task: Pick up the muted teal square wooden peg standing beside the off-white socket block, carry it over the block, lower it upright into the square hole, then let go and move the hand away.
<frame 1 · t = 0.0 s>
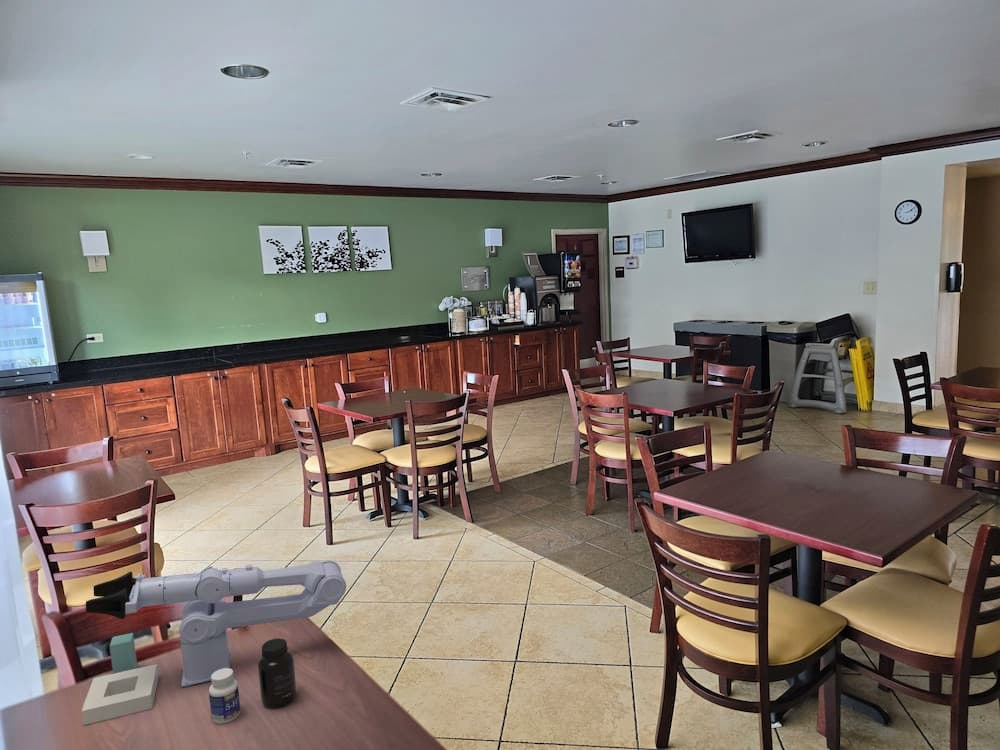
hand: (90, 598, 134), 22 cm above the table, tool horizontal, fingers open, 7 cm apart
pill bottle: (226, 716, 129), on the table
peg: (125, 672, 146), on the table
socket block: (123, 699, 136), on the table
supplement bottle: (279, 700, 134), on the table
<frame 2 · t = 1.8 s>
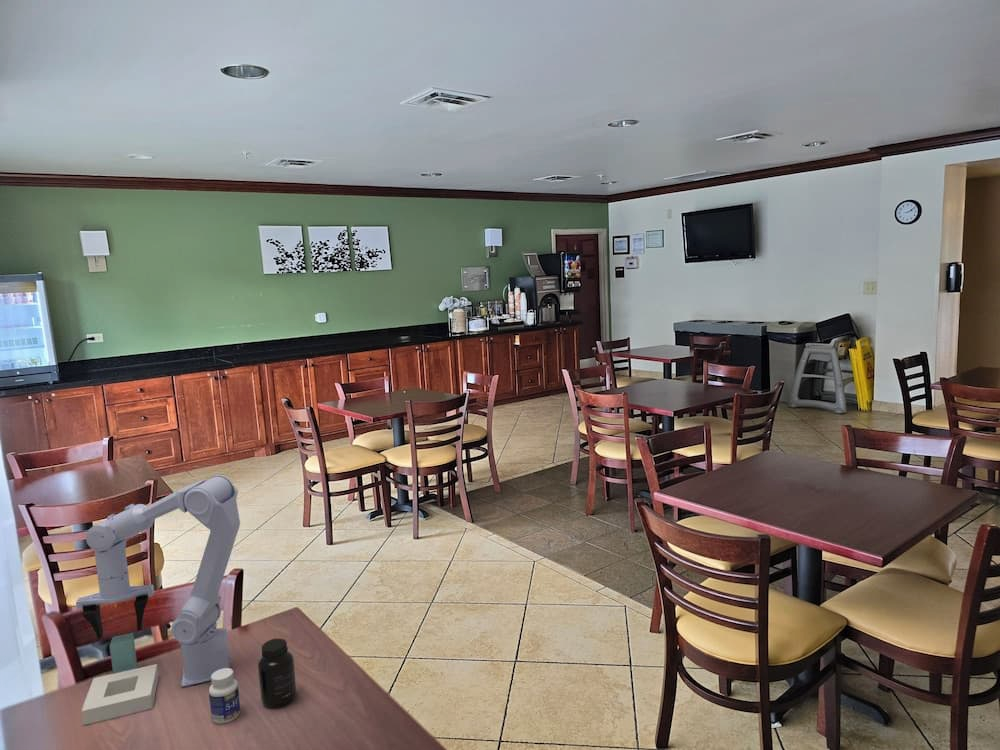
hand: (120, 632, 144), 10 cm above the table, tool pointing down, fingers open, 7 cm apart
nothing on the table moved.
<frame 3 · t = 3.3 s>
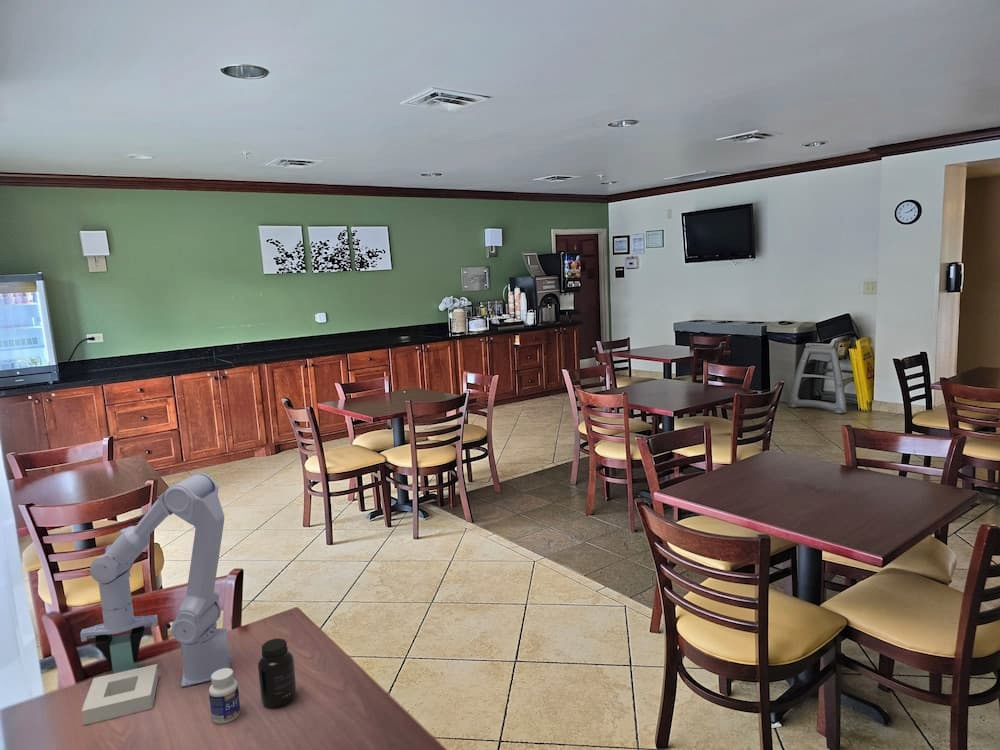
hand: (124, 662, 145), 2 cm above the table, tool pointing down, fingers closed on peg, 4 cm apart
peg: (125, 672, 146), on the table, touching gripper
everything else where it was.
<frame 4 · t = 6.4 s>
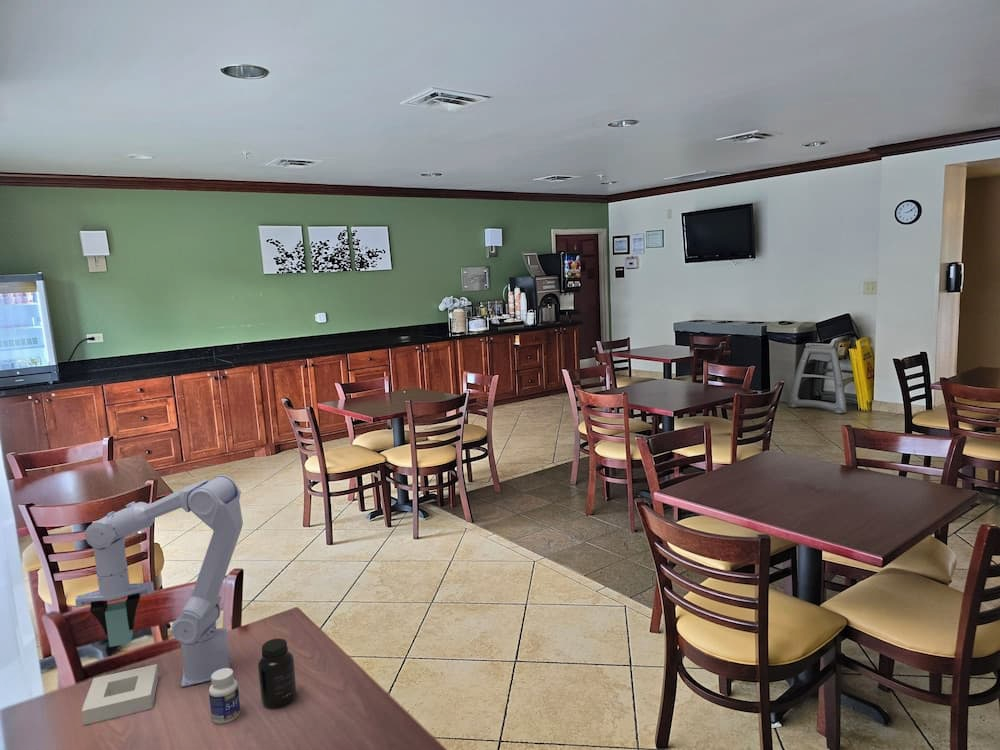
hand: (120, 630, 144), 10 cm above the table, tool pointing down, fingers closed on peg, 4 cm apart
peg: (121, 640, 144), point 8 cm above the table, touching gripper
everything else where it was.
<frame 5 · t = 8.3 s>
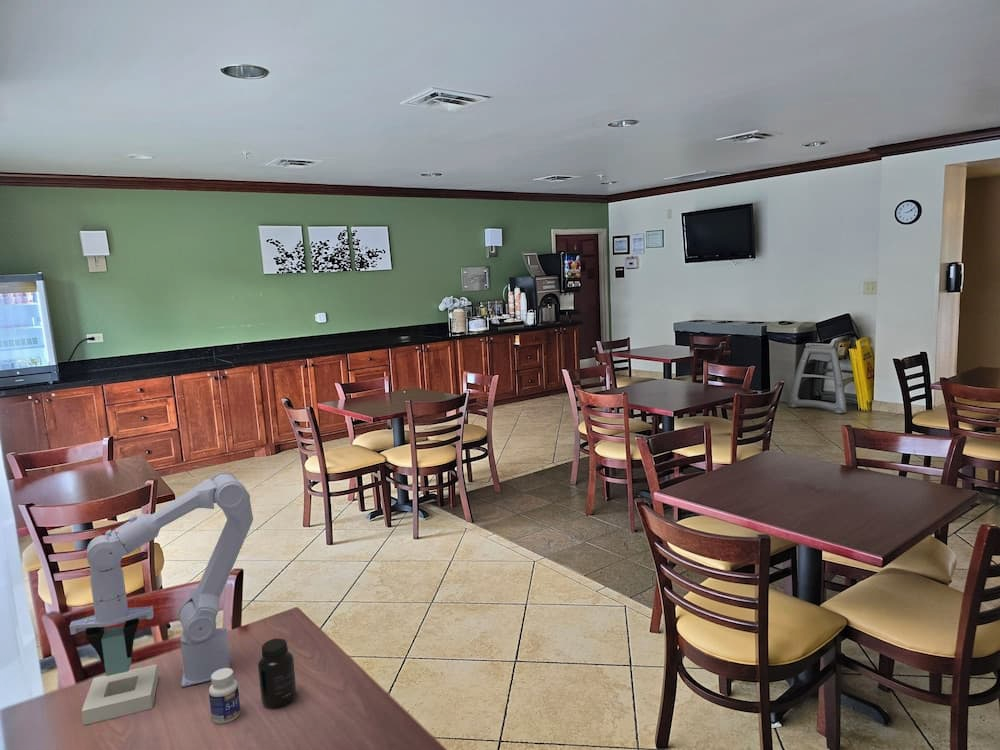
hand: (117, 657, 134), 9 cm above the table, tool pointing down, fingers closed on peg, 4 cm apart
peg: (119, 668, 135), point 7 cm above the table, touching gripper
everything else where it was.
when the fingers open (4 cm above the table, at t = 9.8 s): peg drops 1 cm, resting in socket block.
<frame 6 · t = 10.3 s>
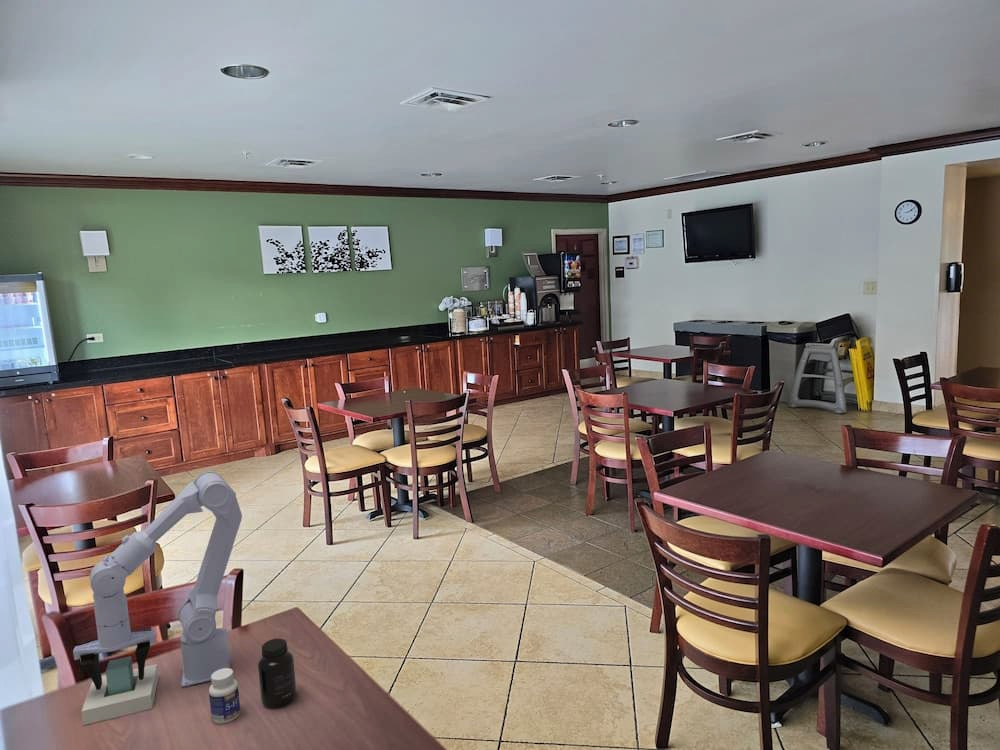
hand: (120, 682, 135), 4 cm above the table, tool pointing down, fingers open, 7 cm apart
peg: (123, 699, 136), resting in socket block
everything else where it was.
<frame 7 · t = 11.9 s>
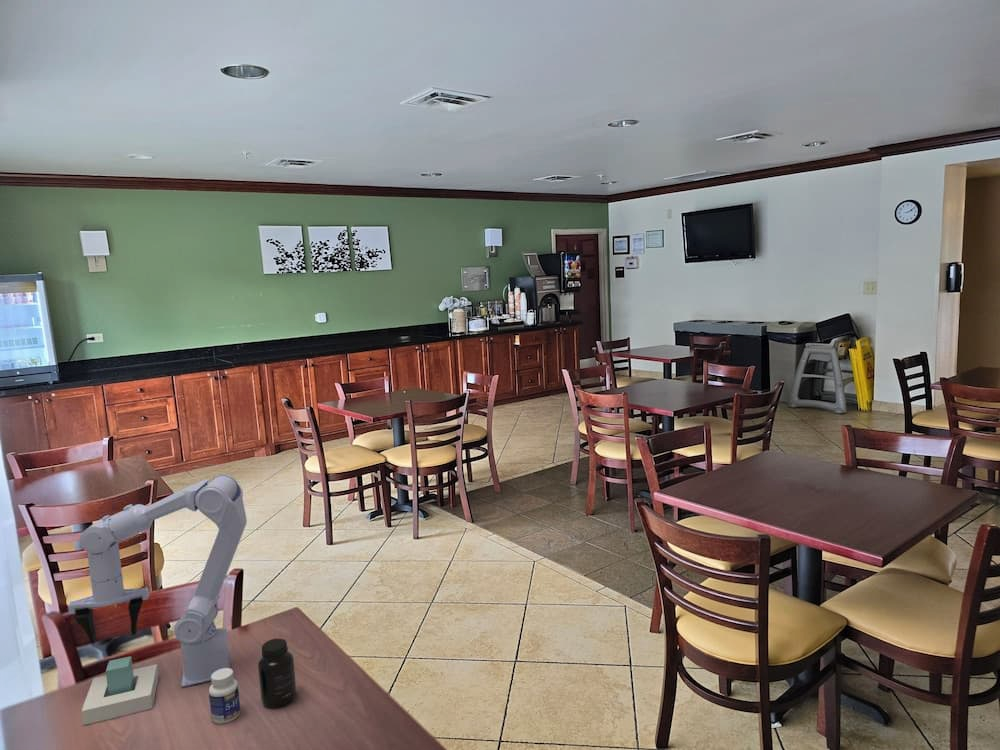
hand: (114, 636, 141), 10 cm above the table, tool pointing down, fingers open, 7 cm apart
nothing on the table moved.
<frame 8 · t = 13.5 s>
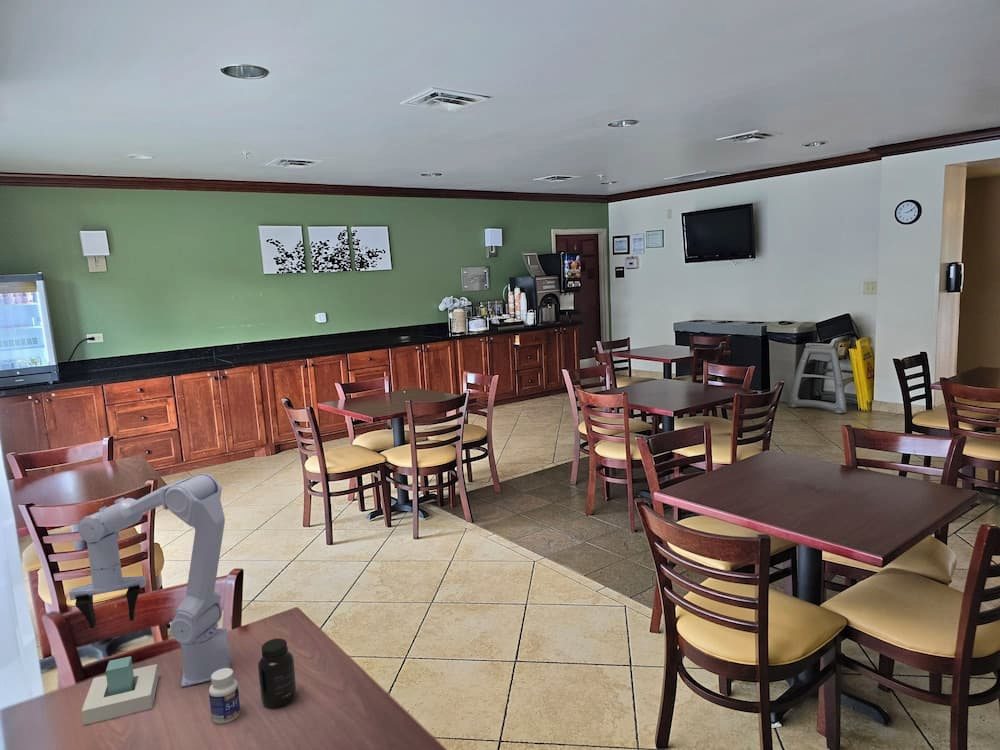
hand: (112, 622, 147), 10 cm above the table, tool pointing down, fingers open, 7 cm apart
nothing on the table moved.
at the end: peg 0.1 cm off-centre on the socket block, point 0.0 cm above the socket block's base; peg tilted 0°; the gripper is holding nothing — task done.
